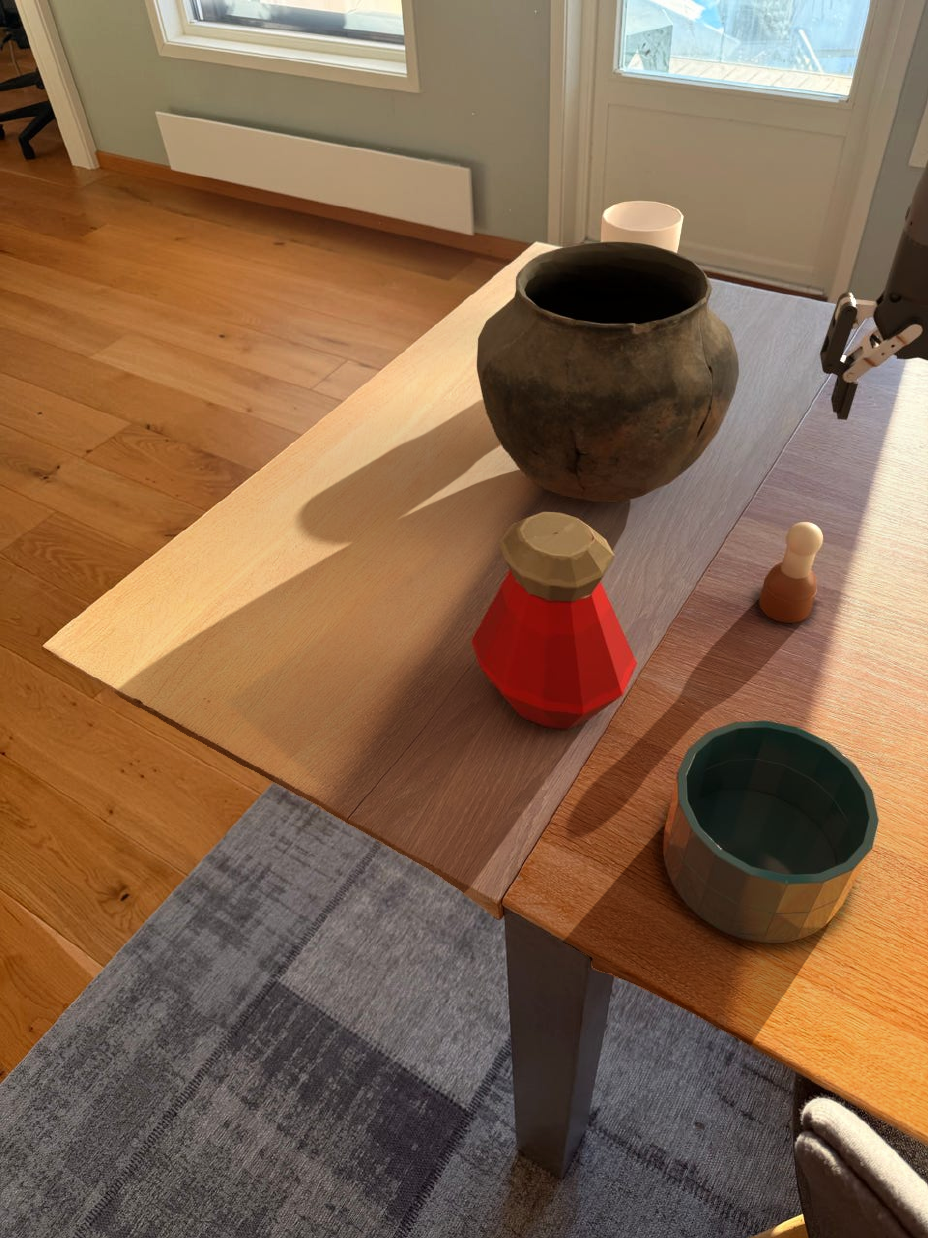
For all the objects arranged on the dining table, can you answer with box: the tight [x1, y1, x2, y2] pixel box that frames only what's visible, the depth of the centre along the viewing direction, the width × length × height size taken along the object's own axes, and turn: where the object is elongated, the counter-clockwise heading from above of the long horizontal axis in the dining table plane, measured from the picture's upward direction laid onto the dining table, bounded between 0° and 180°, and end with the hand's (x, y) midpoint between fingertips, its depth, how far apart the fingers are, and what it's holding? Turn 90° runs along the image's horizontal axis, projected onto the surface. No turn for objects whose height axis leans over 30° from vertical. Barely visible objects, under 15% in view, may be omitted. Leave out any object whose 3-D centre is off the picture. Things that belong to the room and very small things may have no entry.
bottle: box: [470, 511, 638, 731], centre depth 80 cm, size 16×14×20 cm
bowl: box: [662, 720, 880, 944], centre depth 71 cm, size 14×15×9 cm
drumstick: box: [758, 521, 824, 624], centre depth 91 cm, size 5×5×11 cm
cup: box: [600, 200, 684, 253], centre depth 133 cm, size 11×11×17 cm
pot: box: [476, 241, 740, 503], centre depth 104 cm, size 29×32×25 cm
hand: (892, 418), depth 78 cm, fingers open, 8 cm apart
